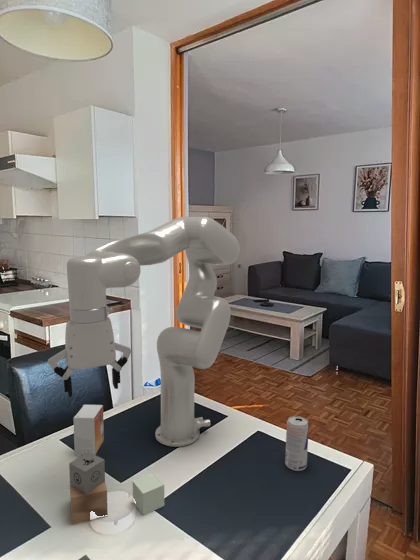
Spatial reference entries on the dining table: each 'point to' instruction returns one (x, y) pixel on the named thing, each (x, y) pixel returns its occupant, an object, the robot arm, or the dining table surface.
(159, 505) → the sage block
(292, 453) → the energy drink
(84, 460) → the dice cube
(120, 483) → the dining table surface
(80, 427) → the small box
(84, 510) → the walnut block
